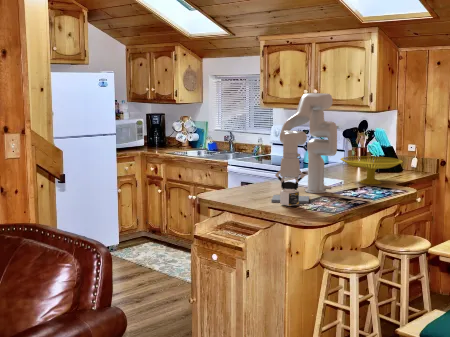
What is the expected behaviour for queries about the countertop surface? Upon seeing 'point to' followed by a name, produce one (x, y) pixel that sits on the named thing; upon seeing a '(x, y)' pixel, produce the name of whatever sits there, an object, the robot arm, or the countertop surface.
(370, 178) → the cake stand
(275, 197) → the serving board
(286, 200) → the medicine bottle
